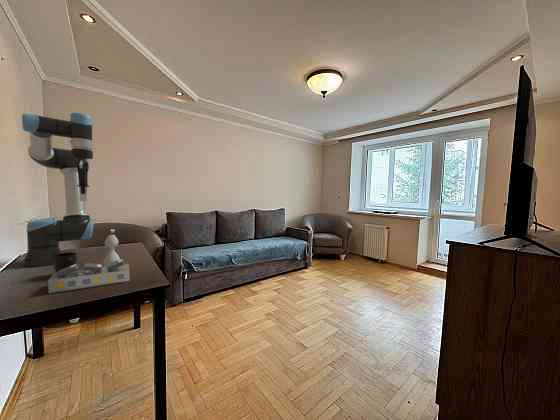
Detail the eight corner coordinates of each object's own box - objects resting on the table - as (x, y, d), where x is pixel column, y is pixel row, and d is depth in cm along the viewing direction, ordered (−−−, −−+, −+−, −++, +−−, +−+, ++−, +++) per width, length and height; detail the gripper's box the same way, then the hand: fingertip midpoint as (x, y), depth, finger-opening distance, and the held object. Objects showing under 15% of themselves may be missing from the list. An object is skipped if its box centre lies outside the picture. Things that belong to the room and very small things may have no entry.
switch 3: (108, 267, 105) (107, 263, 105) (124, 261, 108) (122, 258, 108) (108, 270, 101) (106, 267, 101) (124, 264, 104) (122, 261, 104)
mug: (57, 281, 101) (56, 259, 100) (51, 274, 108) (50, 254, 107) (81, 276, 107) (81, 255, 107) (74, 270, 115) (74, 251, 114)
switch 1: (61, 273, 97) (59, 269, 96) (78, 266, 100) (76, 263, 99) (58, 277, 92) (56, 273, 92) (77, 270, 95) (74, 266, 95)
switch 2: (84, 266, 101) (85, 262, 101) (101, 268, 104) (102, 264, 104) (82, 270, 96) (84, 265, 97) (100, 271, 100) (101, 267, 100)
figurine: (99, 268, 118) (98, 229, 117) (116, 264, 125) (115, 227, 124) (107, 271, 114) (106, 231, 113) (124, 267, 121) (123, 229, 120)
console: (54, 284, 98) (54, 271, 97) (129, 274, 112) (128, 262, 112) (48, 293, 89) (47, 279, 89) (129, 281, 104) (129, 268, 103)
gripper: (73, 150, 110) (75, 200, 112) (68, 146, 99) (70, 201, 101) (94, 152, 114) (95, 200, 116) (91, 148, 103) (92, 201, 105)
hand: (83, 201), depth 108 cm, fingers closed
